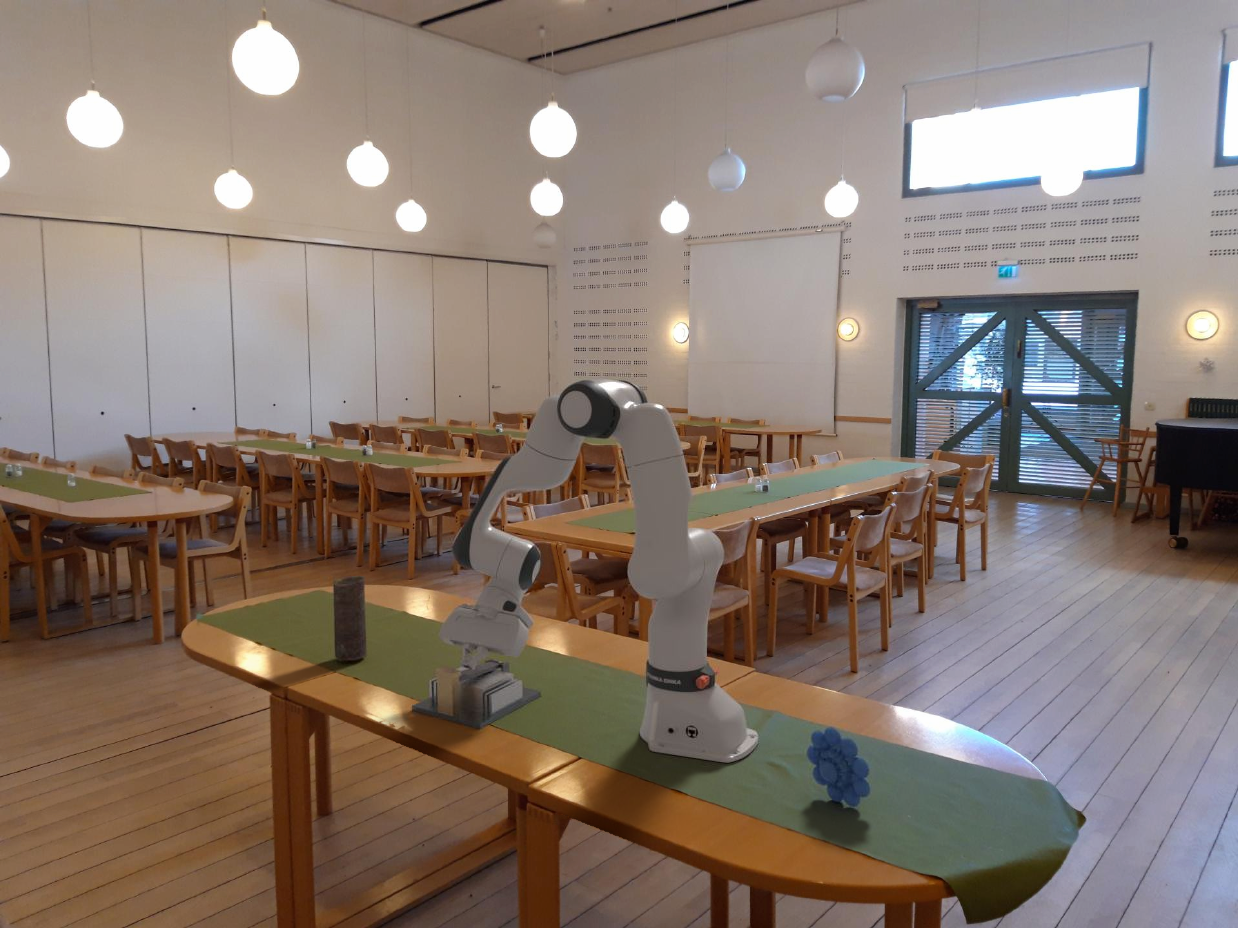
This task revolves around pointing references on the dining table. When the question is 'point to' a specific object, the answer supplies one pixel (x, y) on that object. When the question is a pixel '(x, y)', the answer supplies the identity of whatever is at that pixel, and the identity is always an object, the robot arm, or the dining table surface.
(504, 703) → the grey boxy piece
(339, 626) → the candle
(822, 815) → the dining table surface
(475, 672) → the retention strap
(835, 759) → the blue flower
